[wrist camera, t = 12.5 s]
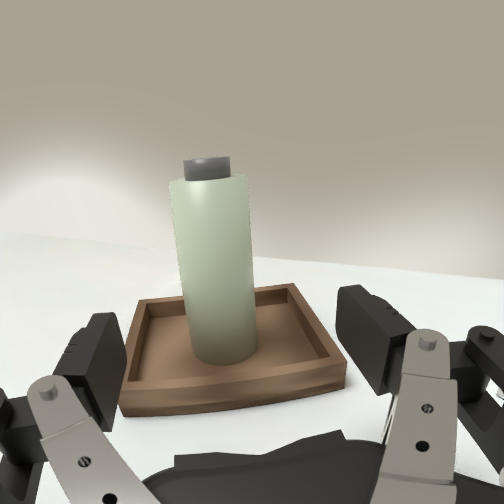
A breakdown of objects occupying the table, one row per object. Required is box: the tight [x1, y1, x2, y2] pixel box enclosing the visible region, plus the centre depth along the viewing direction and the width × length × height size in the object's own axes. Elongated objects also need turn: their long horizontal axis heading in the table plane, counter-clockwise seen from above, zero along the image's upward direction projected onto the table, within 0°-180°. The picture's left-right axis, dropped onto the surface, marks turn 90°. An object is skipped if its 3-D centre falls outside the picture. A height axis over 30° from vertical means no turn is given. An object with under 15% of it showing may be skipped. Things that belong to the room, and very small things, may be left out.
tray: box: [118, 283, 347, 417], centre depth 23 cm, size 14×12×2 cm
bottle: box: [169, 157, 257, 365], centre depth 21 cm, size 5×5×13 cm
